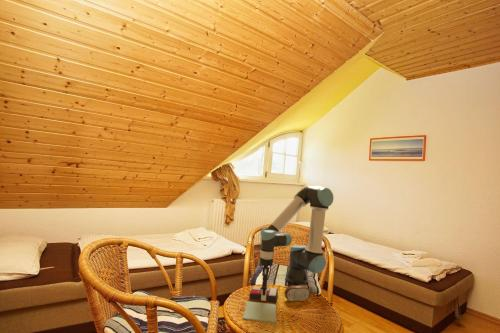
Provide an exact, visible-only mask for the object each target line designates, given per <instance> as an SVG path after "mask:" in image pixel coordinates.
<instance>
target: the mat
mask: <svg viewBox="0 0 500 333" xmlns="http://www.w3.org/2000/svg"><path fill="white" fill-rule="evenodd" d="M242 320H247V321H254V322H264V323H270V324H271V323H272V324H277V304H276V303H266V302H259V301H257V302H255V301H249V300H247V301H246V303H245V307H244V312H243V315H242Z"/></svg>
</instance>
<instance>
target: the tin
mask: <svg viewBox="0 0 500 333" xmlns="http://www.w3.org/2000/svg"><path fill="white" fill-rule="evenodd" d="M310 296H311V291H310V289H309V288H308V286H307V285H305V284H297V285H290V286H287V287H286V289H285V291H284V297H285V298H286V299H287V301H289V302H291V301H296V302H301V301H300V300H306V301H308V300H309V298H310Z"/></svg>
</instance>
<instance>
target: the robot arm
mask: <svg viewBox="0 0 500 333" xmlns="http://www.w3.org/2000/svg"><path fill="white" fill-rule="evenodd" d="M334 198H335V197H334V194H333V191H332V190H331V189H330V188H329V187H325V186H318V185H315V186H314V185H307V186H305V187H303V188H302V189H301V190H299V191H298V192H297V193H296V194H295V195H294V196H293V200H292V201H291V202H290V203H288V205H287V206H286V207H285V208H284V209H283V210H282V211H281V213H280V214H279V215H278V216H277V217H276V218H275V219H274V220H273V221H272V222H271V224H270V225H269V226H268V227H263V228H262V229H261V230H260V238H261V239H260V251H259V256H260V257H259V264H260V265H261V266H262V268H261V269H262V273H261V276H262V284H261V287H262V288H261V289H262V293H261V300H260V301H262V302H267V301H266V292H267V287H268V281H269V273H270V267H272V266H273V265H274V263H273V262H274V259H273V258H274V251H275V249H274V248H275V247H276V248H279V247H288V246H290V245H291V246H290V248H289V258H288V260H289V261H288V262H289V263H288V264H289V265H288V269H287V271H286V273H285V280H286V281H287V282H288V283H292V284H294V285H305V284H306V285H307V284H308V282H309V275H308V271H309V272H310V273H314V274H320V273H322V272H323V270H324V269H325V267H326V265H327V260H326V257H325V256H324V250H323V249H322V245H323V236H324V227H325V220H326V218H325V217H326V212H327V211H328V210H329V207H330V206H331V205H332V204H333V203H334ZM308 204H309V207H310V208H311V215H310V222H309V223H310V224H309V233H308V239H307V240H308V241H307V246H306V245H300V244H299V245H297V244H296V245H295V244H294V245H292V241H293V239H292V238H293V237H292V236H291V234H290V233H289V232H281V231H283V229H284V228H286V226H287V225H288V223H290V221H291V220H292V219H293V218H294V217H295V216H296V215H297V214H298V212H299V211H300V210H301V209H302V208H303V207H306V205H308Z"/></svg>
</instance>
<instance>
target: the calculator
mask: <svg viewBox="0 0 500 333" xmlns="http://www.w3.org/2000/svg"><path fill="white" fill-rule="evenodd" d="M261 288H262V286H255V285H253V286H252V287H251V289H250V292H249V300H252V301H253V300H254V301H261V293H262V289H261ZM278 291H279V290H278V288H276V287H268V286H267V292H266V301H265V302H268V303H271V302H272V303H271V304H276V303H277V300H278V296H277V295H278V294H279V293H278Z"/></svg>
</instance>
